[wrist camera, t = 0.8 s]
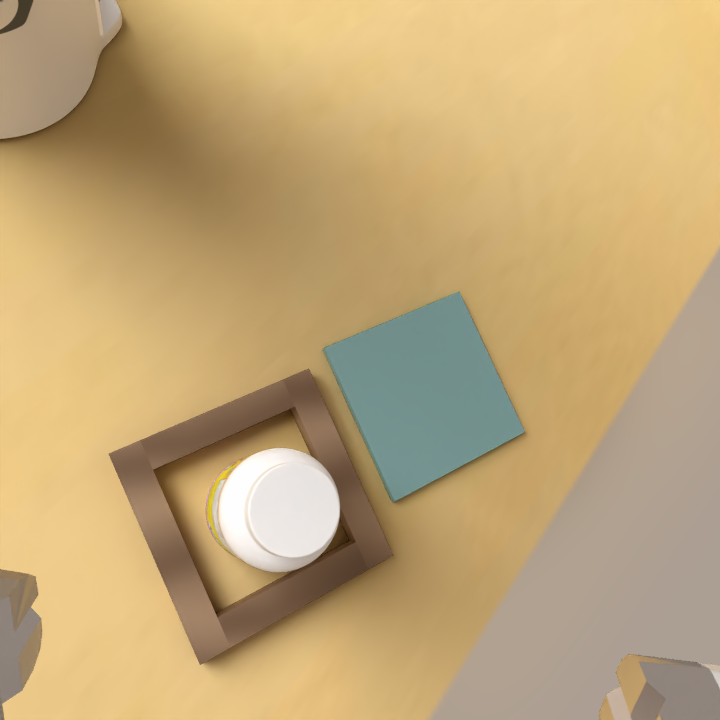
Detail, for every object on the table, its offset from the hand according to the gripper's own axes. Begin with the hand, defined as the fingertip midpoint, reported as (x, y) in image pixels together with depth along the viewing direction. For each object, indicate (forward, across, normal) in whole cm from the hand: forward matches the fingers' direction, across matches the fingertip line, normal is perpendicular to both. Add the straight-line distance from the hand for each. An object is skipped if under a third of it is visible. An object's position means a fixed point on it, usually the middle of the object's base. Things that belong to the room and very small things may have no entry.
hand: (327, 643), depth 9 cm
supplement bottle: (+29, +5, +22) cm, 37 cm away
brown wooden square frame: (+29, +5, +22) cm, 37 cm away
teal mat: (+38, -6, +16) cm, 42 cm away
